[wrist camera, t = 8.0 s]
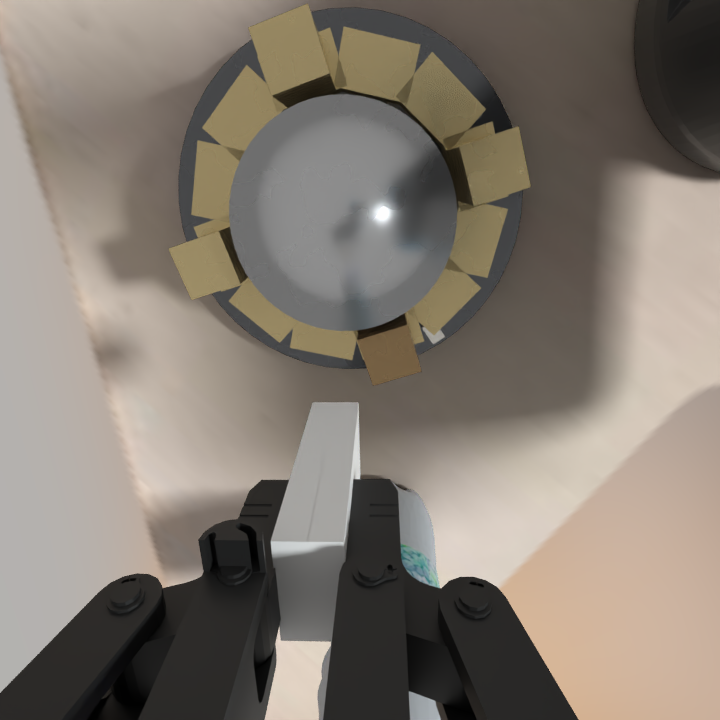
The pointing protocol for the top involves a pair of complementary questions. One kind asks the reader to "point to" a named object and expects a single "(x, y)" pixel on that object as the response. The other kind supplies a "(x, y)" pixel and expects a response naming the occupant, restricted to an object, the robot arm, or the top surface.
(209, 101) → the cap plate
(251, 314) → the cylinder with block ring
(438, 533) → the top surface
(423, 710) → the bottle
